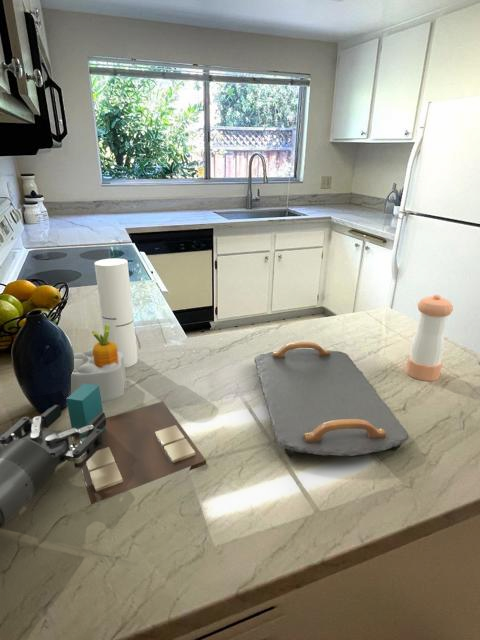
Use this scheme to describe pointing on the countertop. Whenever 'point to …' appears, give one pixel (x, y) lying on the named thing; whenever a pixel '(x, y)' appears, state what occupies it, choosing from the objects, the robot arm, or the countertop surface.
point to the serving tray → (324, 403)
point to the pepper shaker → (429, 339)
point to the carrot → (104, 350)
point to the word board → (138, 452)
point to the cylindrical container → (117, 306)
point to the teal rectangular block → (84, 406)
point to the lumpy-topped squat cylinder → (99, 375)
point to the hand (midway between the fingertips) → (80, 413)
